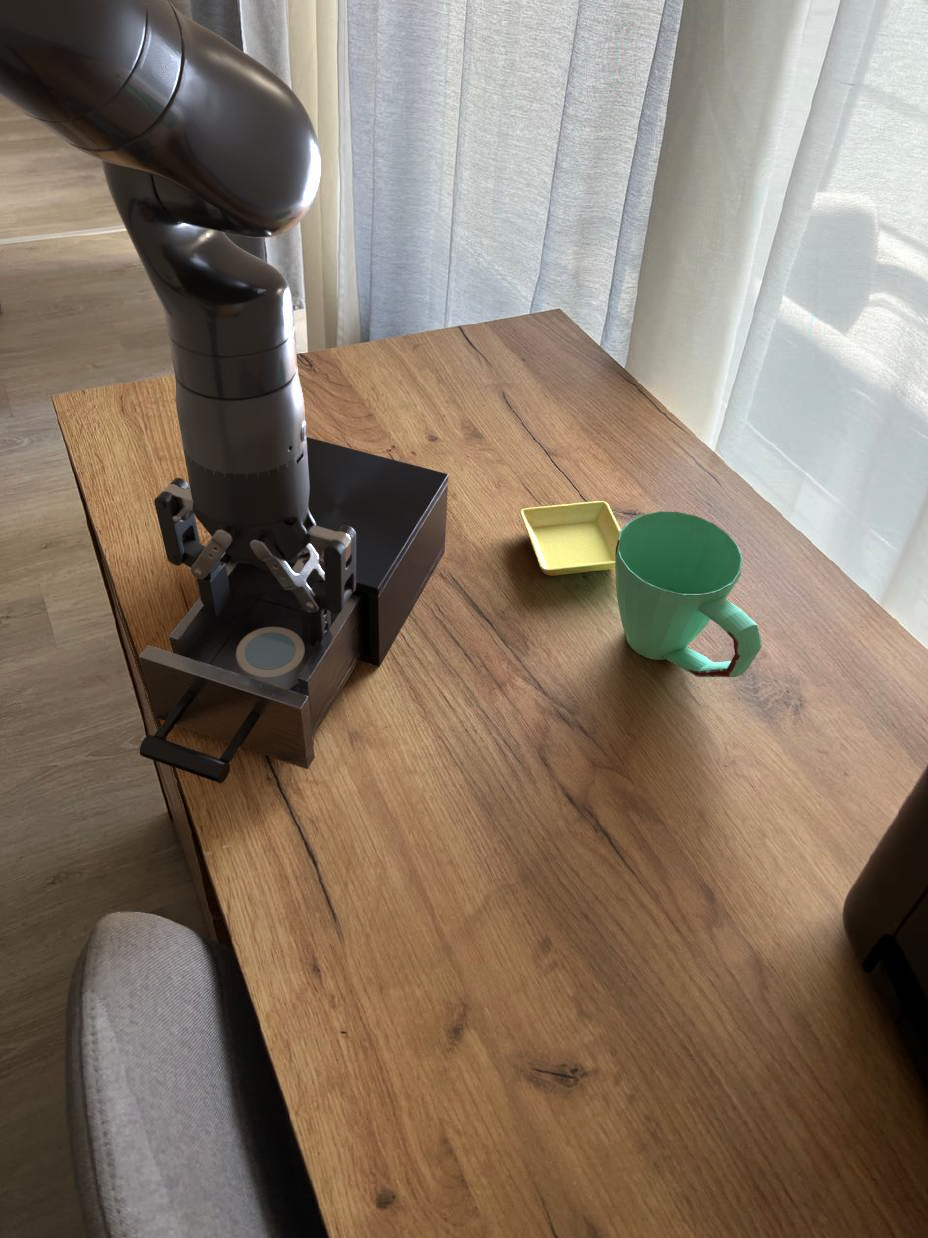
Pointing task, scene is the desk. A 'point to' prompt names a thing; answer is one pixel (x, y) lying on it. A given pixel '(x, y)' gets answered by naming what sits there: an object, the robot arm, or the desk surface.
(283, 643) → the button
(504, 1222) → the desk surface
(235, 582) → the drawer
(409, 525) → the black box
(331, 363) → the desk surface
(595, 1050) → the desk surface
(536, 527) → the yellow square dish
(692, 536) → the mug
